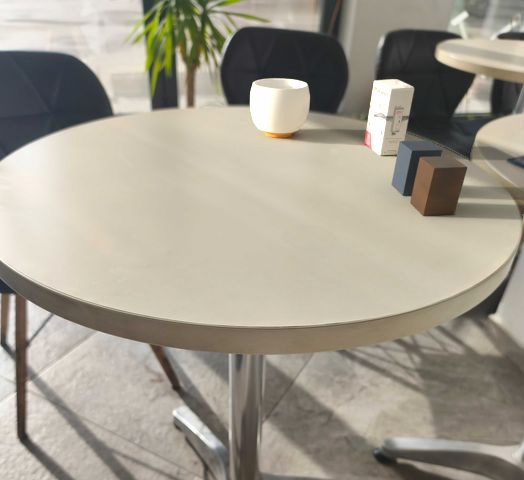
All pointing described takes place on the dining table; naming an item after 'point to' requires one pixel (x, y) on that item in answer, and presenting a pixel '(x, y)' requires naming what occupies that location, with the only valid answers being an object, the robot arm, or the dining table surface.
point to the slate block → (411, 163)
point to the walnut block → (438, 185)
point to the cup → (279, 105)
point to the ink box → (388, 115)
